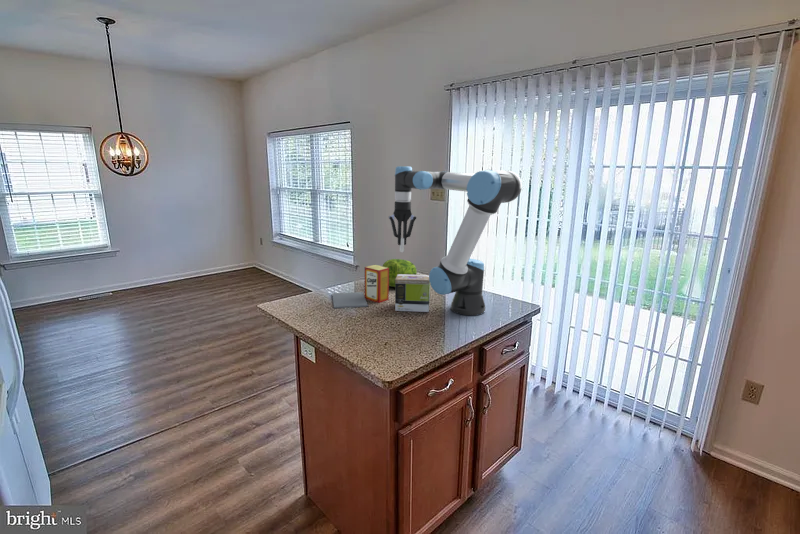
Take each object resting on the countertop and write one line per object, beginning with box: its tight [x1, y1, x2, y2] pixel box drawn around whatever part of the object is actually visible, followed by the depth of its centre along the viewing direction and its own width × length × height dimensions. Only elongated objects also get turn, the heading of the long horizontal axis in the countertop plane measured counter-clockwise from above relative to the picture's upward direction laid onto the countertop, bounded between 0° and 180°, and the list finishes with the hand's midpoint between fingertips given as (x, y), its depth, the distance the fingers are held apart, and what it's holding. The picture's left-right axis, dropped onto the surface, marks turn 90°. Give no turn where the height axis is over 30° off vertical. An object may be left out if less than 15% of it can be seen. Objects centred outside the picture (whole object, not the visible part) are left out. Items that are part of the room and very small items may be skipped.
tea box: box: [394, 274, 431, 313], centre depth 175 cm, size 15×10×15 cm
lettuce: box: [381, 258, 418, 288], centre depth 209 cm, size 16×21×15 cm
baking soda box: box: [364, 264, 390, 304], centre depth 186 cm, size 10×6×16 cm
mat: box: [331, 291, 369, 309], centre depth 185 cm, size 20×15×1 cm
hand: (401, 251), depth 185 cm, fingers closed
